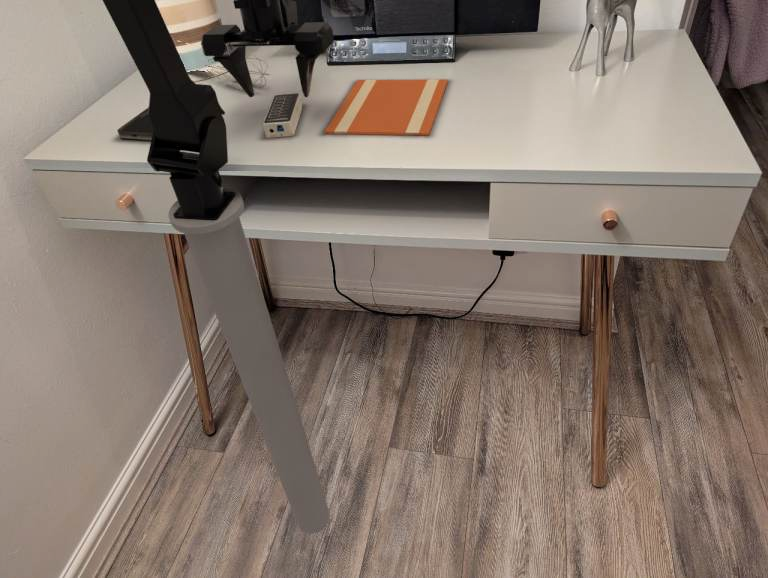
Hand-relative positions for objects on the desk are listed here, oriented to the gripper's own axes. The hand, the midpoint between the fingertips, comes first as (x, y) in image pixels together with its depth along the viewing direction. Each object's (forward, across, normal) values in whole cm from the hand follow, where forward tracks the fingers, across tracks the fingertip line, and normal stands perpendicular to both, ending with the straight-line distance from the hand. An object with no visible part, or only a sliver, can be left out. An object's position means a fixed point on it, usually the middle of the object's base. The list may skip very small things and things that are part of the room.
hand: (279, 96), depth 90 cm
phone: (+4, +22, 0) cm, 22 cm away
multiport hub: (+4, 0, 0) cm, 4 cm away
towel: (+4, -16, -6) cm, 18 cm away
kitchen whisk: (+4, +22, -18) cm, 29 cm away
